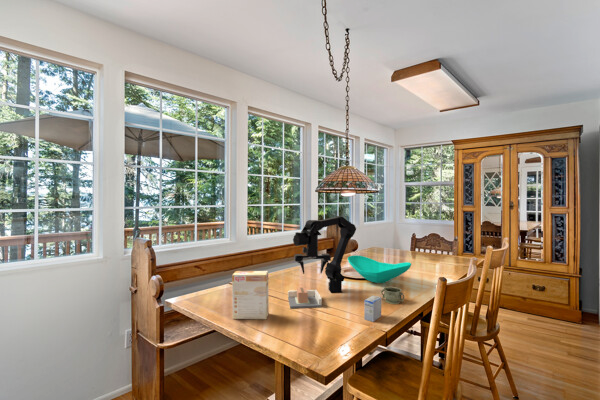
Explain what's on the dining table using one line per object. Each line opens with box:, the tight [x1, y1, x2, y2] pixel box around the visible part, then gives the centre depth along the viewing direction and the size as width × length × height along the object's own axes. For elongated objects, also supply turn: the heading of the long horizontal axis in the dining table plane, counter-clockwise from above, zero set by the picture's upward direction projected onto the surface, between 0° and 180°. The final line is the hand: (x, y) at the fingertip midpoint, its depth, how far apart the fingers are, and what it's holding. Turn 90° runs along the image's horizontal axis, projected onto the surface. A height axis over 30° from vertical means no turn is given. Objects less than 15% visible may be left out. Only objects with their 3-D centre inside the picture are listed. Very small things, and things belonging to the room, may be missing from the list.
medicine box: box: [363, 295, 382, 323], centre depth 135 cm, size 8×4×9 cm, turn 141°
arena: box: [287, 289, 323, 310], centre depth 153 cm, size 15×14×4 cm
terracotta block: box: [296, 287, 308, 303], centre depth 154 cm, size 8×4×5 cm, turn 6°
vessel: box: [380, 286, 405, 305], centre depth 155 cm, size 12×9×6 cm
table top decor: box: [347, 255, 412, 284], centre depth 190 cm, size 40×28×13 cm
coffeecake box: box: [231, 270, 270, 320], centre depth 137 cm, size 15×7×20 cm, turn 88°
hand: (312, 273), depth 163 cm, fingers open, 9 cm apart
